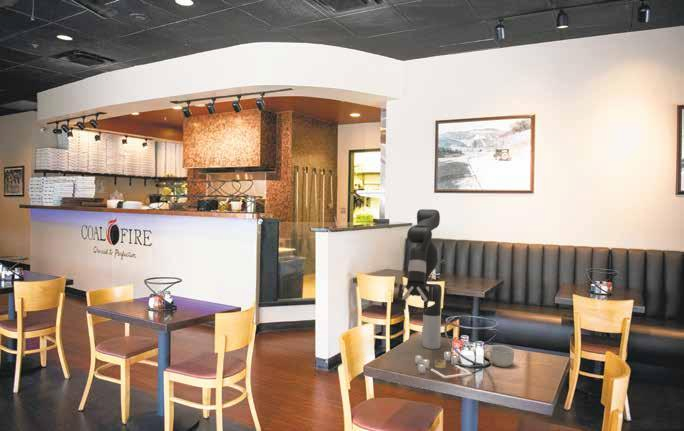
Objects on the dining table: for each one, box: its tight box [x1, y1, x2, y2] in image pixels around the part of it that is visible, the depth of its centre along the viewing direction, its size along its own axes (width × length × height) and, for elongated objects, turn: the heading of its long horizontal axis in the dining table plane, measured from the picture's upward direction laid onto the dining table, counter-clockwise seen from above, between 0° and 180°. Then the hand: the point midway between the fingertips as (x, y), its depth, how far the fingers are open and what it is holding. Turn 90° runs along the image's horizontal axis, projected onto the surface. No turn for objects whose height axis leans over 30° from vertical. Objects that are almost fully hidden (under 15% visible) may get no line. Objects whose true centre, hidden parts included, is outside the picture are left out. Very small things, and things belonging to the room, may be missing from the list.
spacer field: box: [414, 350, 458, 376], centre depth 225 cm, size 14×28×4 cm, turn 112°
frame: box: [429, 364, 473, 380], centre depth 217 cm, size 11×14×1 cm
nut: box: [434, 359, 447, 369], centre depth 225 cm, size 6×5×3 cm
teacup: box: [483, 344, 515, 368], centre depth 228 cm, size 14×11×8 cm
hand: (414, 310), depth 201 cm, fingers open, 8 cm apart
